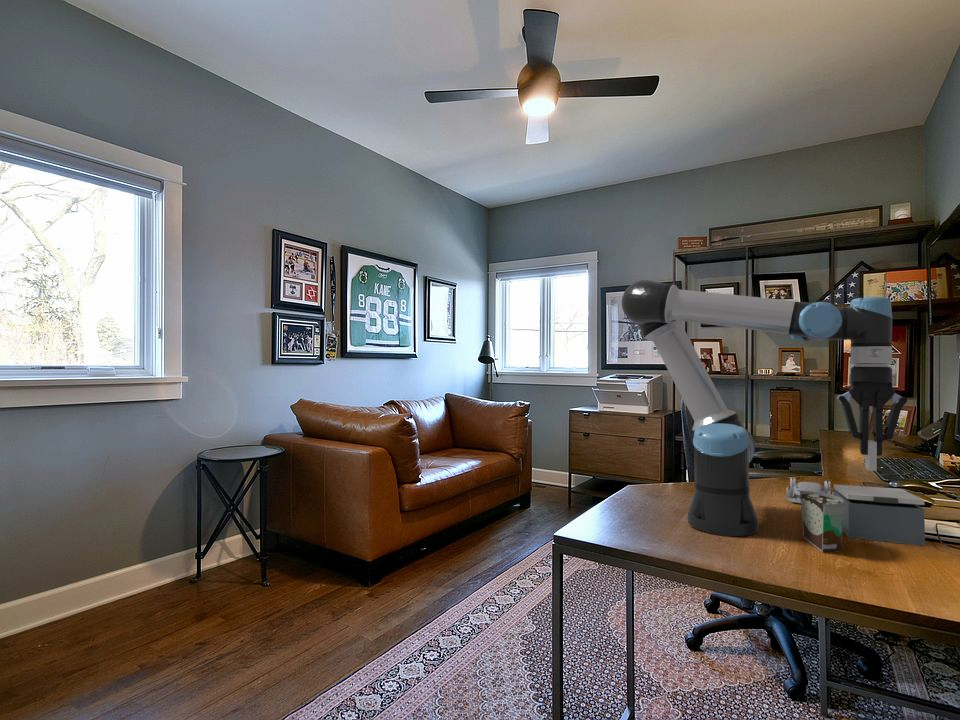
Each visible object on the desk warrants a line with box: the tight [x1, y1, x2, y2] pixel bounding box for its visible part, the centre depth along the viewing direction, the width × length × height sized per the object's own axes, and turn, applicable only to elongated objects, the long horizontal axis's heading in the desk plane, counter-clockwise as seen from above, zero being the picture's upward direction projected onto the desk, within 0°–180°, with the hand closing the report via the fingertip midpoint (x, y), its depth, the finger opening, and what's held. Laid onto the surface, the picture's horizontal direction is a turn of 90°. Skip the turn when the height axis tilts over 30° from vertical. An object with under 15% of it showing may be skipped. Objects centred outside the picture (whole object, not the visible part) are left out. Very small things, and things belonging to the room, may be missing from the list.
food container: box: [800, 491, 847, 554], centre depth 107 cm, size 12×6×10 cm, turn 168°
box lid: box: [833, 483, 926, 506], centre depth 115 cm, size 13×15×1 cm
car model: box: [785, 477, 834, 505], centre depth 146 cm, size 11×24×5 cm, turn 147°
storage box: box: [833, 488, 926, 546], centre depth 115 cm, size 13×14×8 cm
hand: (870, 469), depth 117 cm, fingers closed
